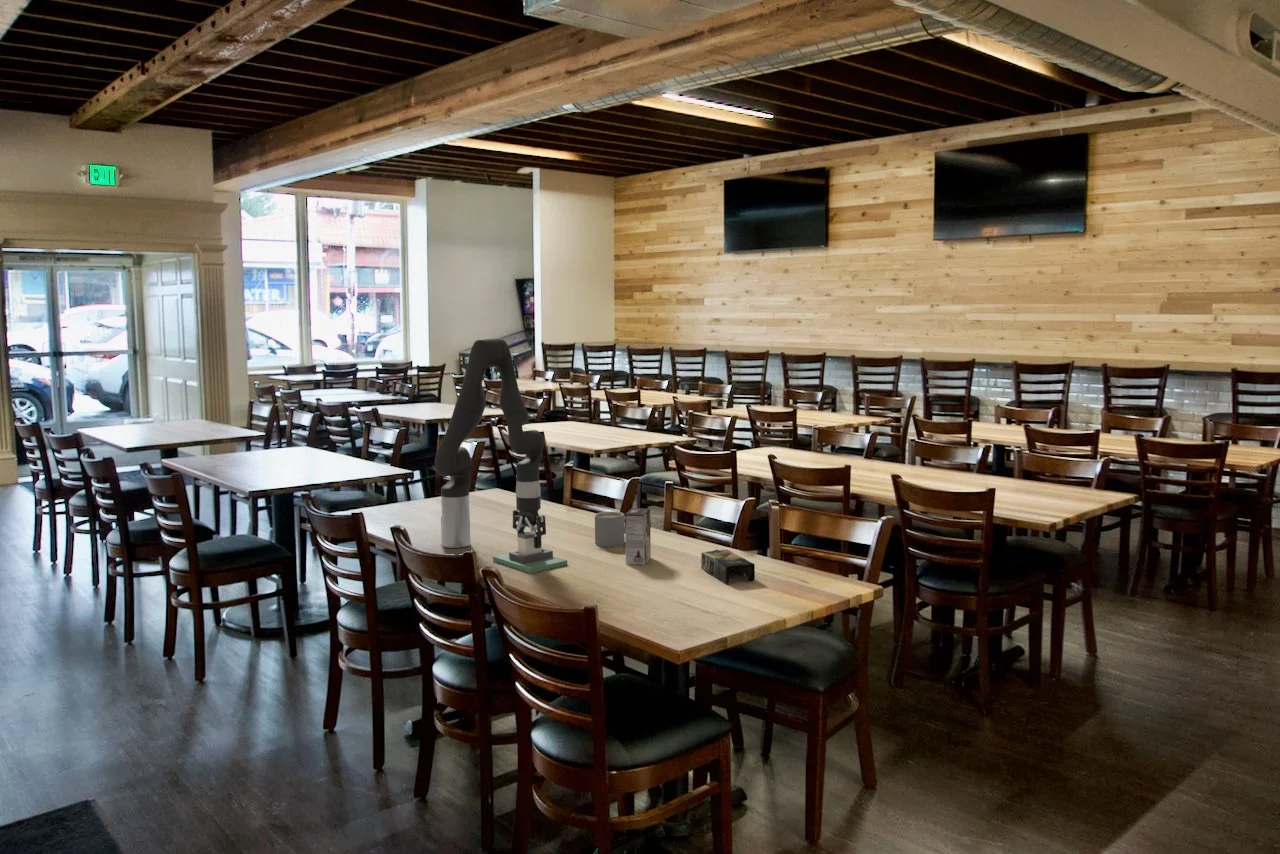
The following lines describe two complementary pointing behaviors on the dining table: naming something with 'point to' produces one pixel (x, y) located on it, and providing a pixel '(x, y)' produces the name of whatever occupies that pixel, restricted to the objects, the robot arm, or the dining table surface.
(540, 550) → the plug
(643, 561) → the coffee box
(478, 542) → the dining table surface
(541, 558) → the header board
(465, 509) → the robot arm
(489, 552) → the dining table surface
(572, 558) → the dining table surface
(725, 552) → the juice carton
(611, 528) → the coffee mug
